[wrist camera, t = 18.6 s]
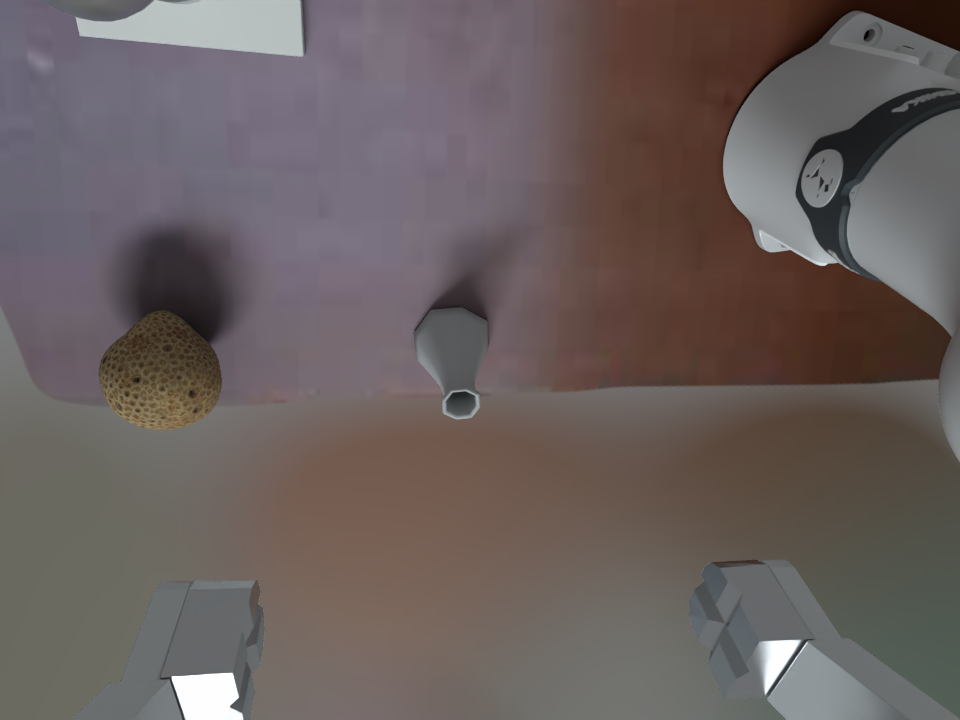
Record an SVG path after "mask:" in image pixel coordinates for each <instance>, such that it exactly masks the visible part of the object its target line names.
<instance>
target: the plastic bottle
mask: <svg viewBox="0 0 960 720" xmlns="http://www.w3.org/2000/svg"><path fill="white" fill-rule="evenodd" d="M42 1H44V2H46V3H47V4H49V5H51V6H53V7H54V8H56V9H58V10H60V11H62V12H65V13H67V14H70V15H72V16H75V17H78V18H81V19H86V20H91V21H104V22H111V21H116V20H121V19H126V18H128V17H130V16H132V15H134V14H136V13H138V12H140V11H142V10H144V9H145V8H146V7H147V6H148V5H150V4H151V3H152V2H153V1H154V0H42ZM158 1H163V2H167V3H172V4H191V3H195V2H199V1H201V0H158Z"/></svg>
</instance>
